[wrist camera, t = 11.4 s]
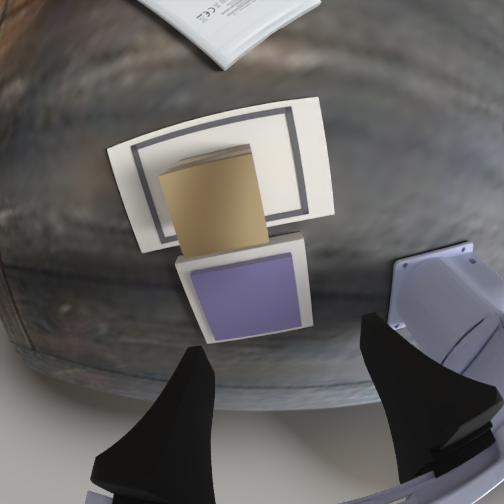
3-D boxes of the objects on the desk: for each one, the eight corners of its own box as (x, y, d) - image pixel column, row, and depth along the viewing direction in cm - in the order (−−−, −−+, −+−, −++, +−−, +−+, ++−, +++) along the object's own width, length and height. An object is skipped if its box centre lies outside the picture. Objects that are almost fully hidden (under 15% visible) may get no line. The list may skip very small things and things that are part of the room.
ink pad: (300, 231, 19) (305, 242, 18) (310, 316, 23) (314, 330, 21) (178, 256, 20) (172, 268, 18) (208, 334, 24) (206, 348, 22)
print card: (316, 97, 15) (318, 96, 15) (332, 212, 19) (335, 214, 18) (109, 148, 16) (106, 149, 16) (143, 250, 20) (141, 253, 19)
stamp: (249, 143, 16) (252, 153, 12) (262, 209, 18) (269, 242, 14) (180, 159, 16) (158, 176, 12) (198, 222, 18) (184, 258, 14)
